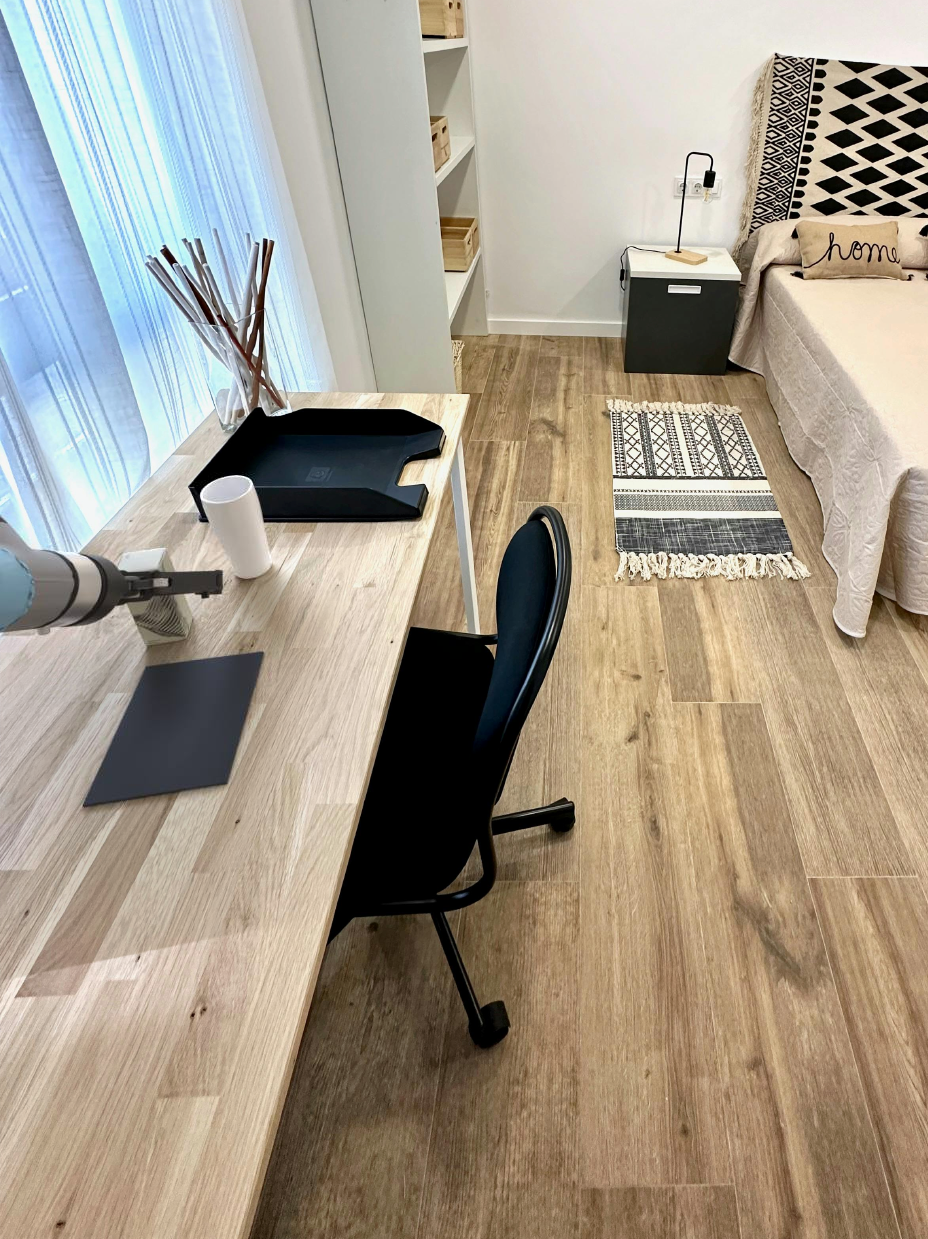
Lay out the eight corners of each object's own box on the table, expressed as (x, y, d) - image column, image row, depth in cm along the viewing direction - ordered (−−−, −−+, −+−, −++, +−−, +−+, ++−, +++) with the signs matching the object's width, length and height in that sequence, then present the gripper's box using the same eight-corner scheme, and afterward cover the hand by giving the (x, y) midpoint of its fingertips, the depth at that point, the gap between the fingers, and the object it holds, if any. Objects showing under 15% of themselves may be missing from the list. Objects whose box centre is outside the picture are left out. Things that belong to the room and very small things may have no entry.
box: (145, 647, 87) (108, 576, 80) (153, 622, 90) (119, 552, 83) (189, 639, 88) (157, 568, 81) (196, 615, 91) (166, 545, 84)
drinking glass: (255, 589, 96) (227, 508, 88) (218, 577, 98) (187, 497, 89) (288, 559, 101) (264, 480, 93) (252, 548, 103) (226, 470, 95)
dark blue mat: (83, 807, 69) (82, 805, 69) (147, 668, 84) (145, 666, 84) (227, 784, 72) (226, 782, 71) (264, 652, 86) (263, 651, 86)
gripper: (-81, 644, 64) (57, 631, 85) (196, 611, 69) (264, 607, 89) (-74, 566, 66) (60, 572, 86) (196, 540, 70) (263, 551, 91)
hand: (164, 590), depth 88 cm, fingers open, 13 cm apart
